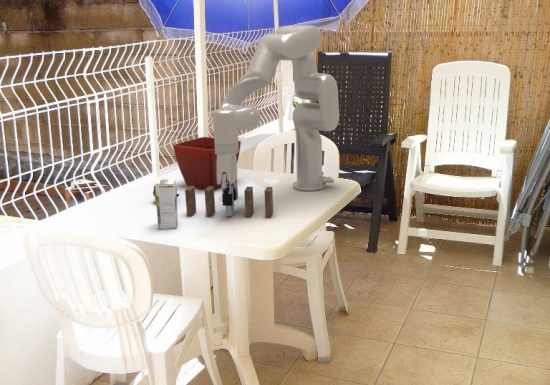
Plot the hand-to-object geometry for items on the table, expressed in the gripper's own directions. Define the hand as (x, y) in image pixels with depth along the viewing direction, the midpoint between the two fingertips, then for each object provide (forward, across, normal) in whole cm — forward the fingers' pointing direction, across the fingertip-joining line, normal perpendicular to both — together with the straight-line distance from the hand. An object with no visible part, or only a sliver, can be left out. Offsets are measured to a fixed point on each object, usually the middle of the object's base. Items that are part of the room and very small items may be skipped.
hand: (229, 202), depth 192 cm
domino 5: (+4, 0, +13) cm, 14 cm away
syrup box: (+4, +12, -17) cm, 21 cm away
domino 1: (+4, 0, -13) cm, 14 cm away
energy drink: (+4, -19, -4) cm, 20 cm away
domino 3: (+4, 0, 0) cm, 4 cm away
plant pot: (+5, -36, -16) cm, 40 cm away
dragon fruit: (+4, -13, -26) cm, 29 cm away
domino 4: (+4, 0, +6) cm, 8 cm away
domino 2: (+4, 0, -6) cm, 8 cm away
